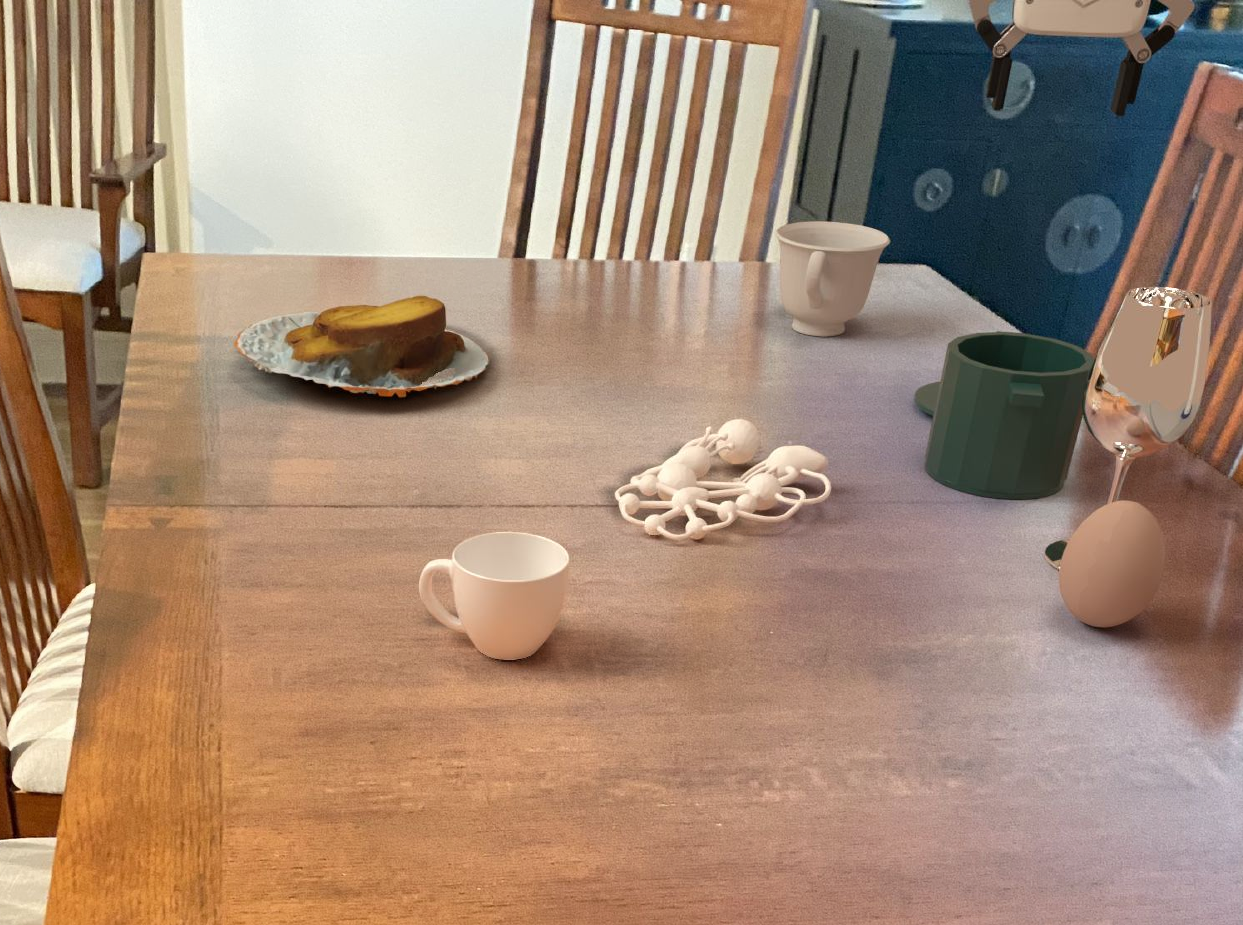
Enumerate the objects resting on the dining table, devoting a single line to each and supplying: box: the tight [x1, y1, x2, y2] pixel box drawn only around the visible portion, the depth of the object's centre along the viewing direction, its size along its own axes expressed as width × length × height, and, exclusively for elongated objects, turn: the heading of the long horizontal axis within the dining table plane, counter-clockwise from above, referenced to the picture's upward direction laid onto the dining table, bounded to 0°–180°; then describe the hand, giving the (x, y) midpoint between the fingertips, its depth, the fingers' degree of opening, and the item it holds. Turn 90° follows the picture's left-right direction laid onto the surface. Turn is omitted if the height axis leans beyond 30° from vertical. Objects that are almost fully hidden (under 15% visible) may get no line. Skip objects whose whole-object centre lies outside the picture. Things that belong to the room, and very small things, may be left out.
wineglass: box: [1043, 286, 1213, 570], centre depth 110 cm, size 8×8×20 cm
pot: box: [924, 330, 1095, 500], centre depth 127 cm, size 12×17×10 cm
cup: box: [418, 531, 571, 659], centre depth 101 cm, size 8×10×7 cm
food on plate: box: [233, 295, 490, 398], centre depth 149 cm, size 25×25×7 cm
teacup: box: [774, 220, 891, 338], centre depth 161 cm, size 12×15×10 cm
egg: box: [1058, 500, 1167, 629], centre depth 104 cm, size 7×7×9 cm
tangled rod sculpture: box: [614, 418, 832, 541], centre depth 122 cm, size 19×14×4 cm
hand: (1056, 110), depth 126 cm, fingers open, 9 cm apart
